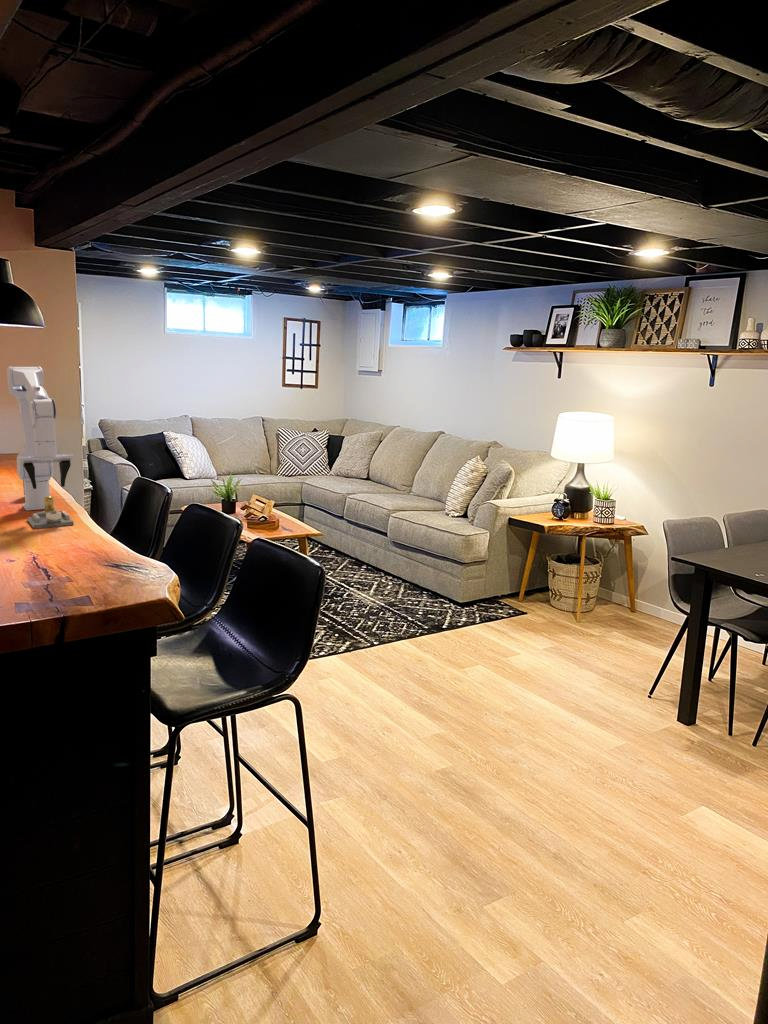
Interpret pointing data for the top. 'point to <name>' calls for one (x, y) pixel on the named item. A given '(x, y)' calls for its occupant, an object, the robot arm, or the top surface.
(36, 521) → the carrier
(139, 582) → the top surface
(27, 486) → the robot arm
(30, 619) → the top surface
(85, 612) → the top surface
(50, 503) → the planet gear
